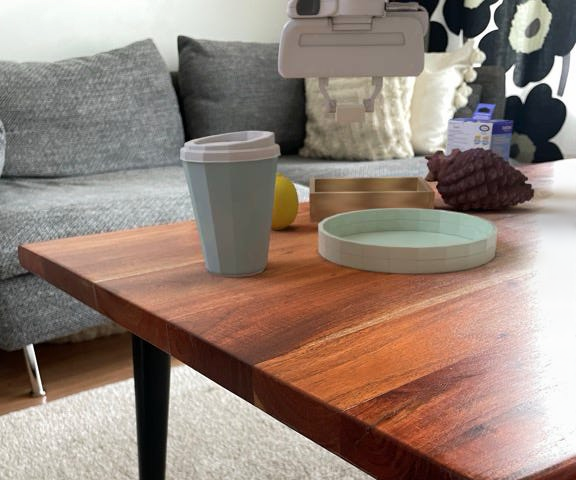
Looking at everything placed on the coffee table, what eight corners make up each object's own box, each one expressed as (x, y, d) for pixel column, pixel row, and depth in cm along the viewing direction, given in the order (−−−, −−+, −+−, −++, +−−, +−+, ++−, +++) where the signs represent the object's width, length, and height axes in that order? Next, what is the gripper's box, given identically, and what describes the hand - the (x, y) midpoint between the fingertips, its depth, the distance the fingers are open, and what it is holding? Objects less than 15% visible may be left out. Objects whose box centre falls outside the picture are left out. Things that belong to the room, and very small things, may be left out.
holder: (420, 206, 115) (421, 176, 113) (432, 224, 102) (435, 191, 101) (309, 207, 115) (309, 177, 114) (309, 225, 103) (309, 193, 101)
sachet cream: (362, 118, 106) (362, 104, 105) (364, 122, 100) (365, 107, 99) (335, 118, 106) (335, 104, 105) (336, 122, 100) (336, 107, 100)
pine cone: (523, 201, 117) (550, 151, 108) (517, 242, 111) (545, 194, 103) (418, 170, 118) (437, 118, 109) (407, 210, 112) (426, 159, 104)
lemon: (307, 232, 99) (306, 172, 96) (278, 239, 96) (276, 177, 93) (279, 226, 103) (278, 168, 100) (250, 233, 100) (248, 173, 96)
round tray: (474, 233, 97) (477, 207, 96) (514, 278, 78) (518, 246, 76) (317, 234, 98) (317, 208, 97) (318, 279, 79) (318, 248, 77)
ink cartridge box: (507, 197, 121) (517, 104, 115) (485, 201, 118) (494, 106, 112) (461, 189, 128) (469, 102, 122) (440, 193, 125) (446, 103, 119)
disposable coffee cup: (216, 293, 75) (207, 142, 68) (172, 270, 83) (160, 133, 77) (301, 276, 80) (299, 133, 74) (251, 256, 88) (246, 126, 82)
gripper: (426, 3, 99) (419, 110, 105) (278, 5, 100) (279, 111, 106) (433, 0, 94) (425, 113, 99) (276, 2, 94) (277, 114, 100)
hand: (349, 112), depth 103 cm, fingers closed on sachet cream, 4 cm apart
